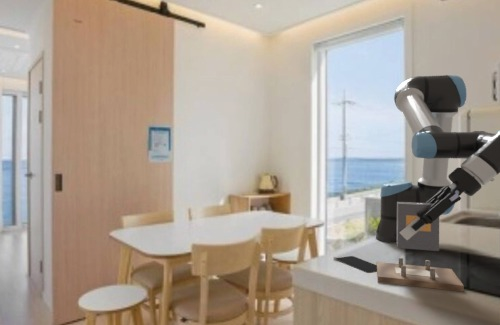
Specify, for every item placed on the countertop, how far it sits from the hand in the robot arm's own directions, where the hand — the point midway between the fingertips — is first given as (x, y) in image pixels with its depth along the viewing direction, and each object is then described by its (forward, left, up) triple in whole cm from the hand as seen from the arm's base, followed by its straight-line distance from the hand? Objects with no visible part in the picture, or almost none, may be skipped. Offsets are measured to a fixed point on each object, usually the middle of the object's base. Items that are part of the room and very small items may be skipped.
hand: (402, 234), depth 98 cm
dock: (-2, +3, -12) cm, 12 cm away
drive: (-2, +3, -3) cm, 5 cm away
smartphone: (0, -14, -12) cm, 19 cm away
